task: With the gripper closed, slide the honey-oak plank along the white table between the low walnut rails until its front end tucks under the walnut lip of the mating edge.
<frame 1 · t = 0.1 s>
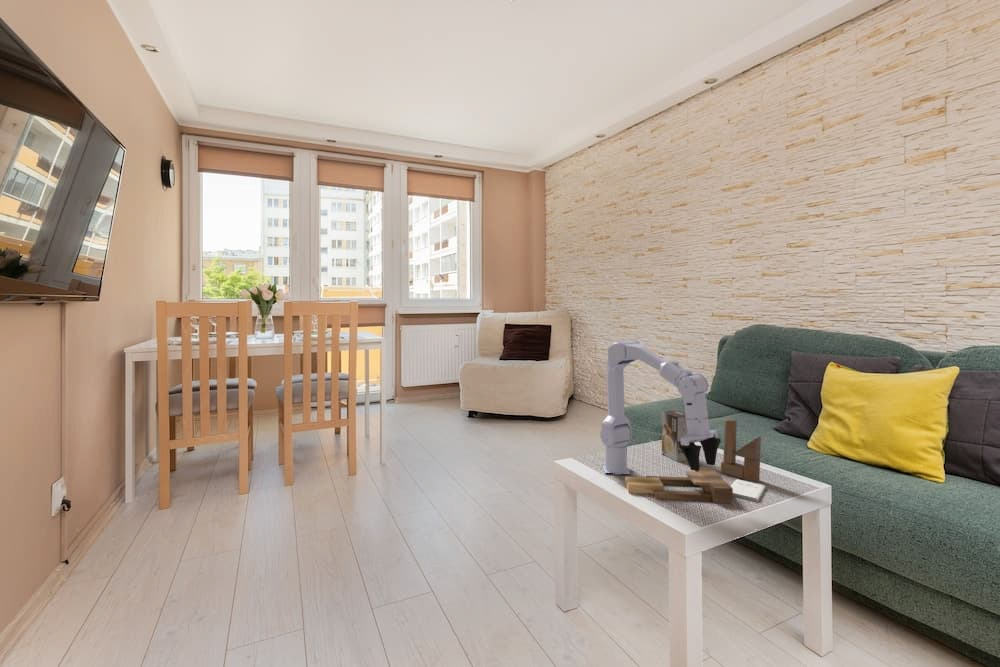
hand: (703, 467, 127), 11 cm above the table, tool pointing down, fingers open, 7 cm apart
coffee box: (676, 457, 168), on the table
external hard drive: (746, 493, 137), on the table
walnut dock: (684, 490, 137), on the table
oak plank: (643, 490, 138), on the table
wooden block: (739, 477, 148), on the table
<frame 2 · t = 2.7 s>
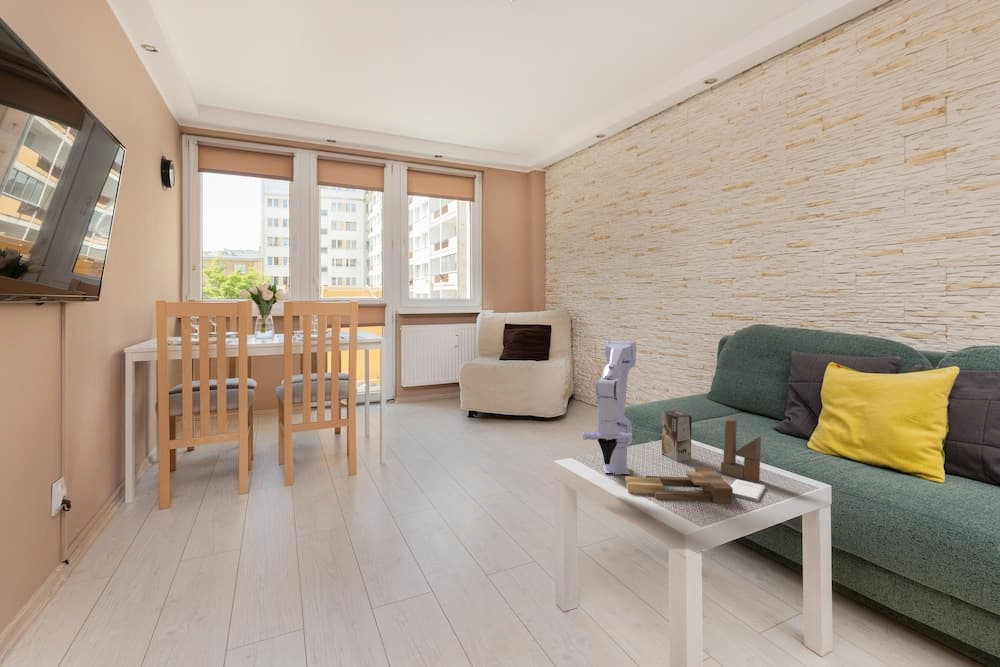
hand: (606, 463, 139), 8 cm above the table, tool pointing down, fingers closed
nothing on the table moved.
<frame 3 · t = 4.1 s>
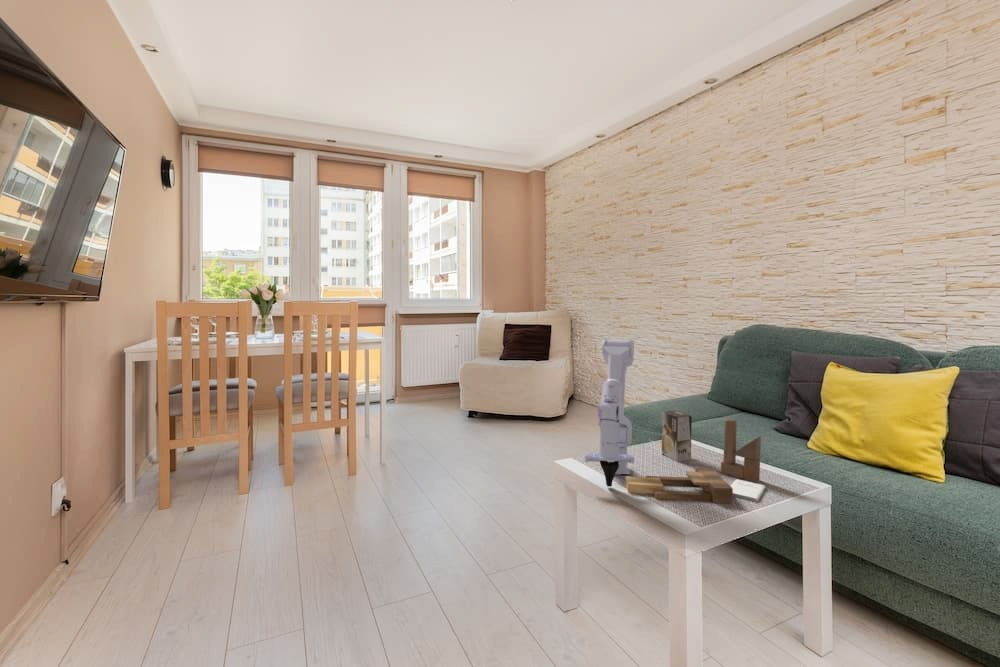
hand: (608, 485, 139), 1 cm above the table, tool pointing down, fingers closed
nothing on the table moved.
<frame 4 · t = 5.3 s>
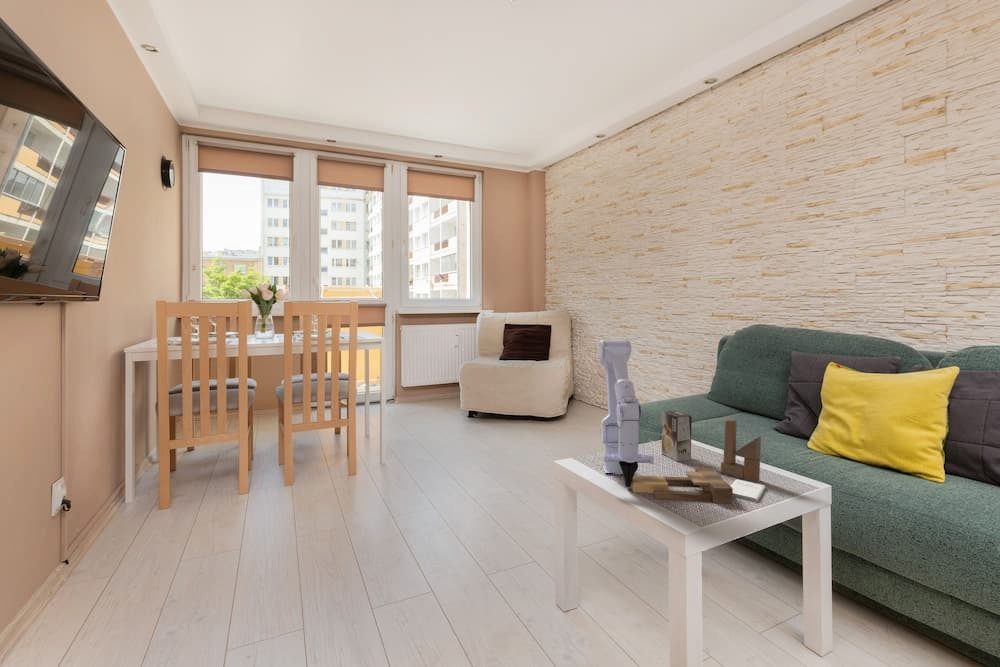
hand: (627, 485, 139), 1 cm above the table, tool pointing down, fingers closed
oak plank: (648, 489, 139), on the table
everything else where it was.
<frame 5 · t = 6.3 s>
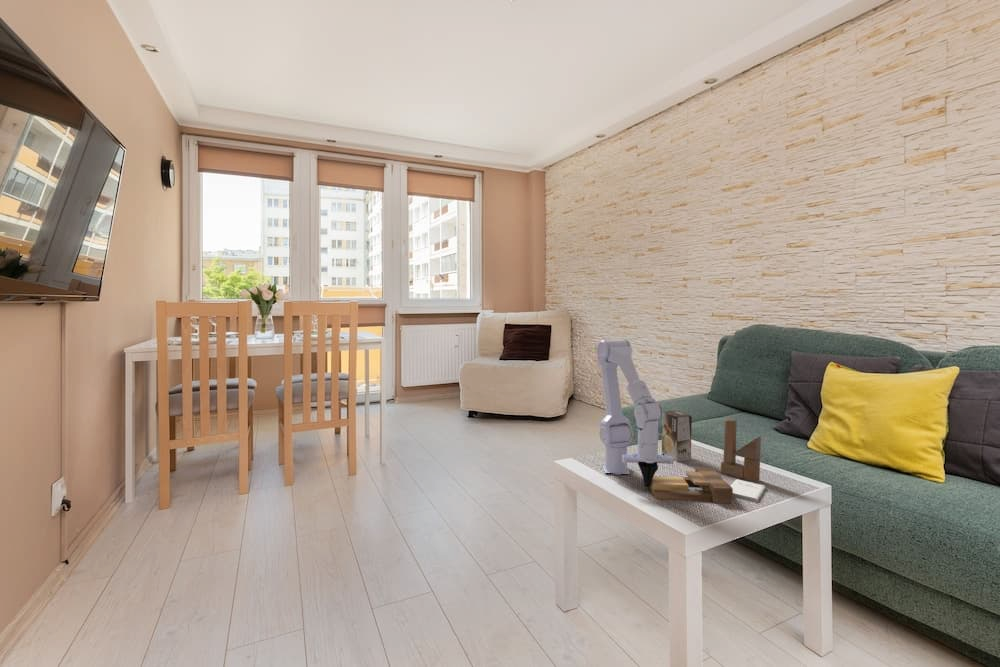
hand: (647, 486, 138), 1 cm above the table, tool pointing down, fingers closed
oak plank: (668, 490, 138), resting in walnut dock, touching gripper
everything else where it was.
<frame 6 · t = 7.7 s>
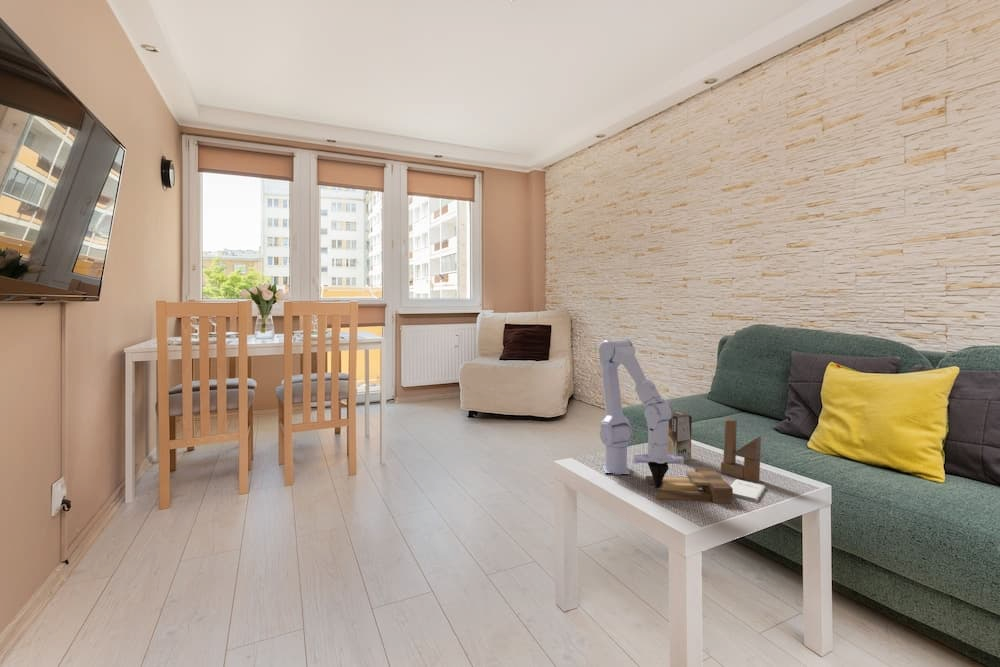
hand: (657, 486, 138), 1 cm above the table, tool pointing down, fingers closed
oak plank: (677, 490, 138), resting in walnut dock
everything else where it was.
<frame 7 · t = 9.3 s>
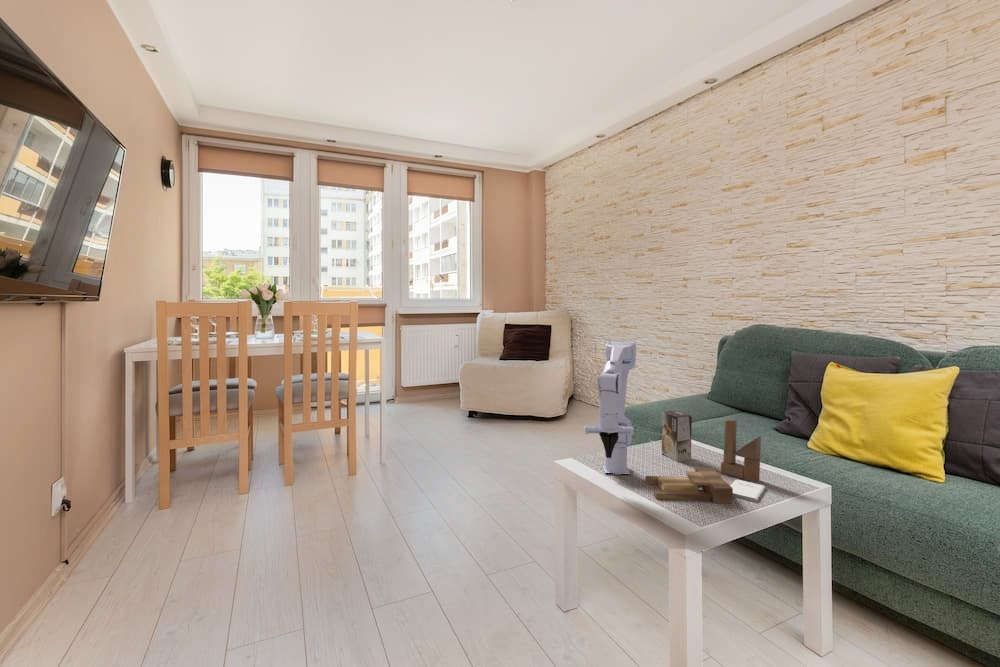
hand: (608, 456, 140), 9 cm above the table, tool pointing down, fingers closed
nothing on the table moved.
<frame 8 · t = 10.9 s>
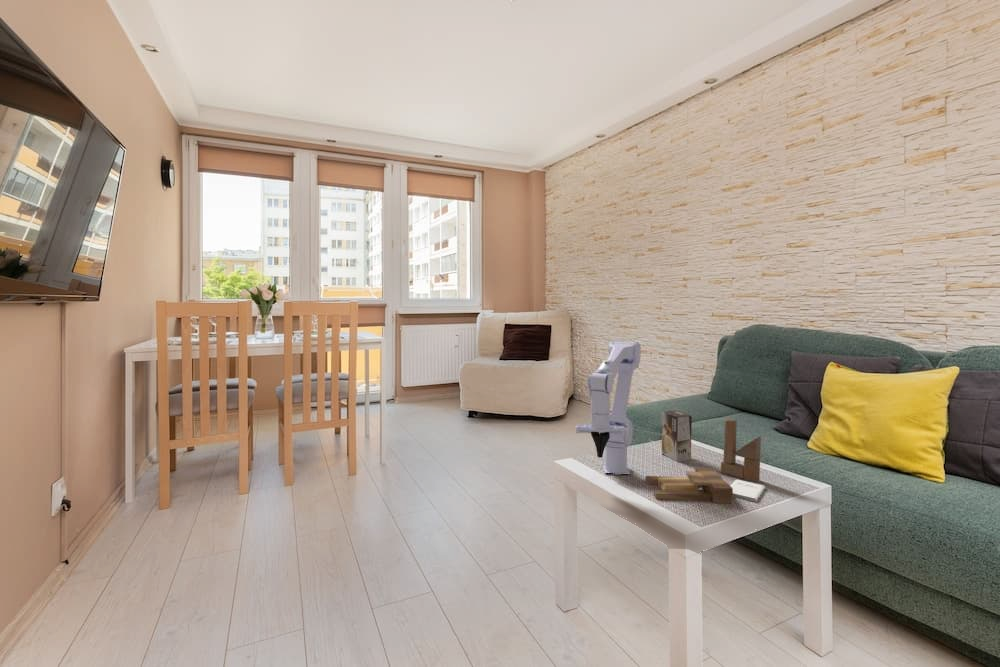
hand: (599, 456, 140), 9 cm above the table, tool pointing down, fingers closed
nothing on the table moved.
at the end: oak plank 1.0 cm from the target spot on the walnut dock, point 0.0 cm above the walnut dock's base; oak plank tilted 0°; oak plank moved 10.2 cm from its start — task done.
